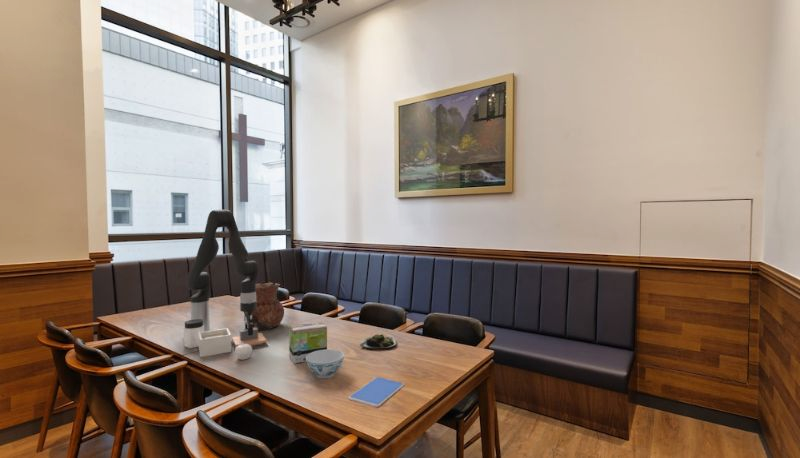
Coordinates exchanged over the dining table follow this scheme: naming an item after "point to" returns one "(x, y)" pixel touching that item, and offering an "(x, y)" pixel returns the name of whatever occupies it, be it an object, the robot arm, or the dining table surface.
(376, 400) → the tablet computer
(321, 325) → the tea box
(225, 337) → the storage box
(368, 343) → the salad plate
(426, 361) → the dining table surface
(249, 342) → the lid
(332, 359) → the chinaware
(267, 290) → the jug
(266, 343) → the mat
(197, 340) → the jar
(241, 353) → the plain white apple
